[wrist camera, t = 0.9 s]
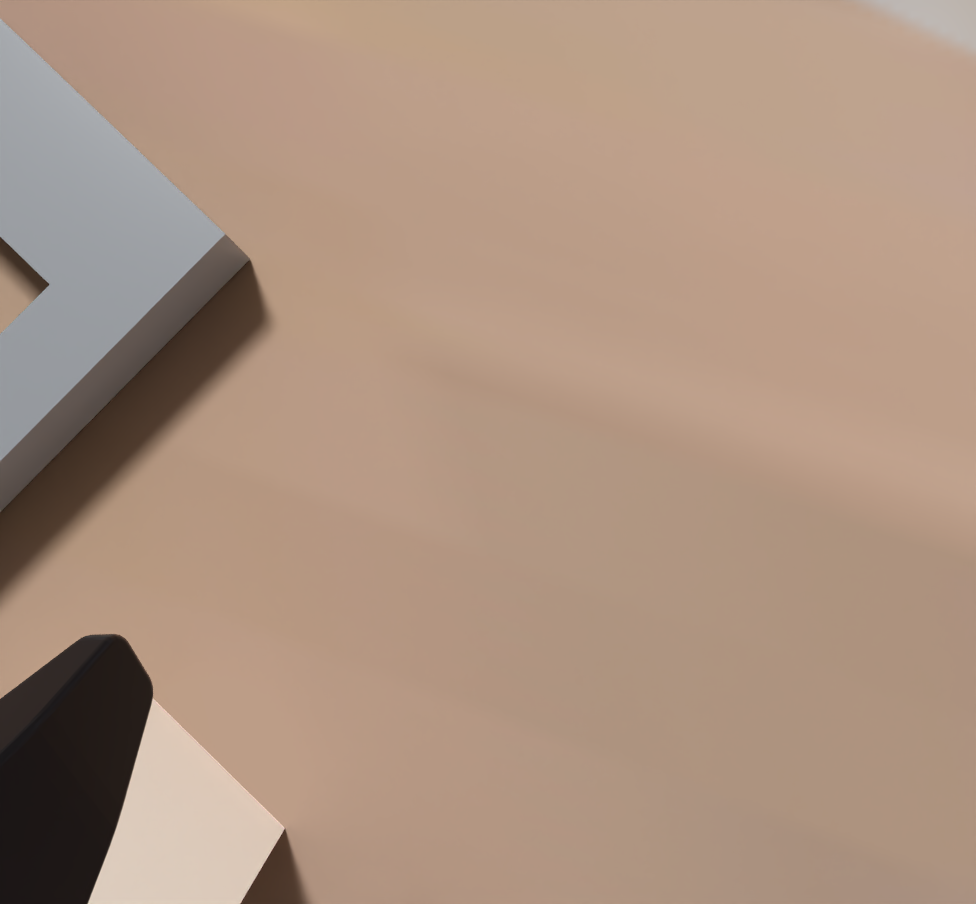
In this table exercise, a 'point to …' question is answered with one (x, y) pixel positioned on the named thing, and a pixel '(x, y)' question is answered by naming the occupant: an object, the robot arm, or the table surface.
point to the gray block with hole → (86, 262)
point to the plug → (183, 827)
